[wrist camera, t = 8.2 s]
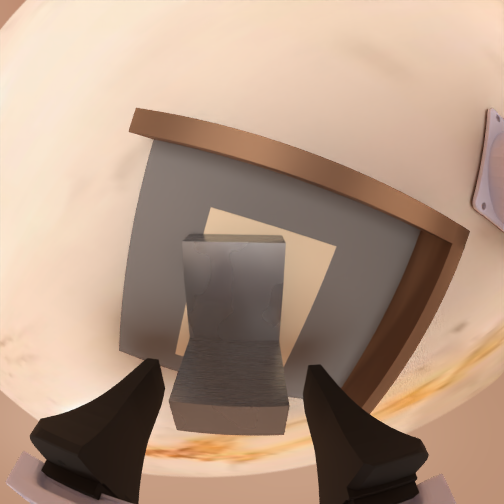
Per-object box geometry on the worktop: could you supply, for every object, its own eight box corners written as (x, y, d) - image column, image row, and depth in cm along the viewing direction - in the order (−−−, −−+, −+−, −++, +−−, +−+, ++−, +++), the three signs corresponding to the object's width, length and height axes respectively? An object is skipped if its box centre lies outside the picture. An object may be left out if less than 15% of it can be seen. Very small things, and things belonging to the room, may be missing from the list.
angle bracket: (274, 353, 15) (284, 434, 9) (197, 351, 15) (176, 429, 9) (281, 235, 13) (305, 283, 7) (189, 233, 13) (145, 280, 7)
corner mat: (433, 218, 13) (438, 220, 13) (341, 399, 17) (343, 403, 17) (162, 121, 12) (159, 120, 11) (121, 347, 16) (118, 351, 15)
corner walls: (433, 218, 13) (469, 231, 10) (341, 399, 17) (353, 432, 14) (162, 121, 12) (136, 107, 9) (121, 347, 16) (100, 378, 12)
